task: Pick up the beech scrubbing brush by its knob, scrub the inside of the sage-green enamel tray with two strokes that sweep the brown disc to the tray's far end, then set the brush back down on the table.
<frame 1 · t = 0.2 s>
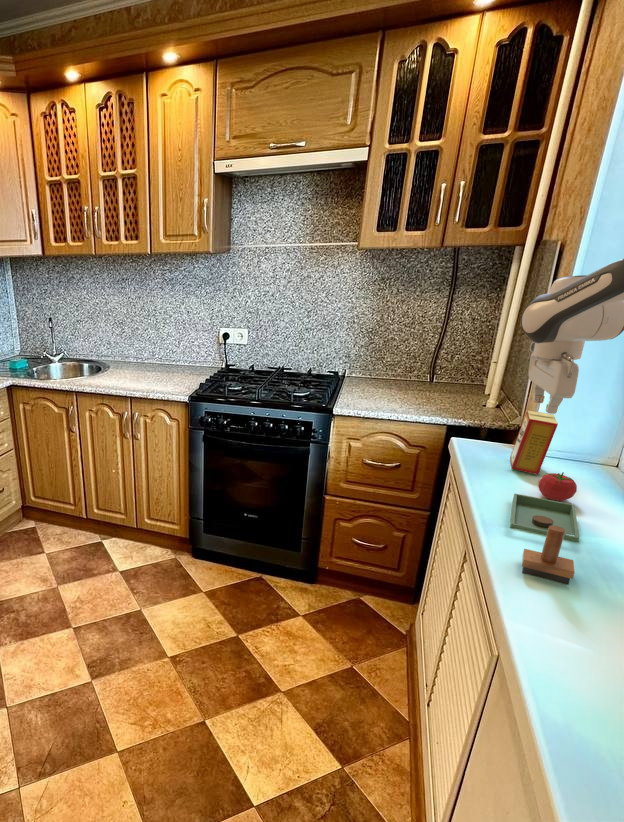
hand: (544, 407, 125), 26 cm above the worktop, tool pointing down, fingers open, 8 cm apart
tray: (541, 524, 124), on the worktop
brush: (544, 575, 105), on the worktop
tomato: (552, 498, 137), on the worktop
brown disc: (541, 523, 123), point 1 cm above the worktop, touching tray
baking soda box: (523, 466, 157), on the worktop
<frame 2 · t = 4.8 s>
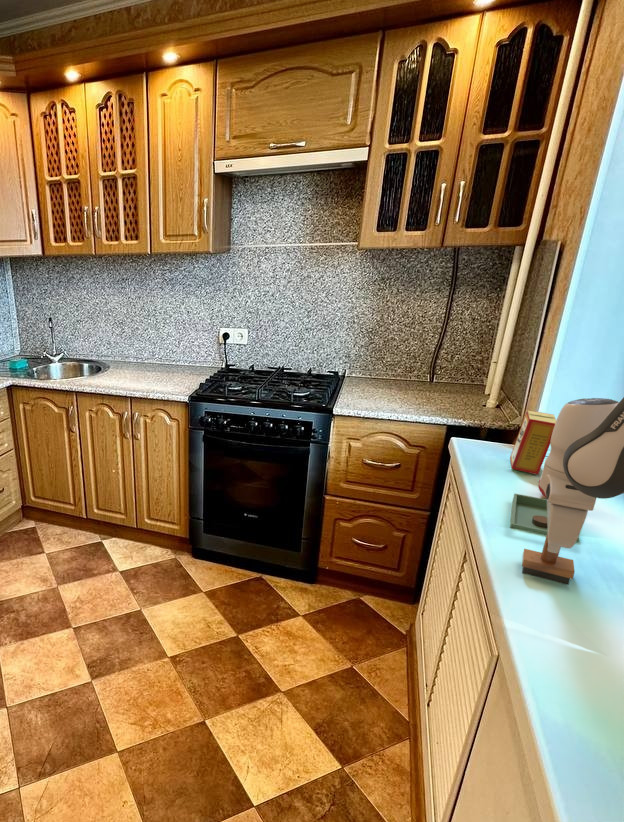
hand: (552, 546, 103), 7 cm above the worktop, tool pointing down, fingers closed on brush, 2 cm apart
brush: (544, 575, 105), on the worktop, touching gripper
everything else where it was.
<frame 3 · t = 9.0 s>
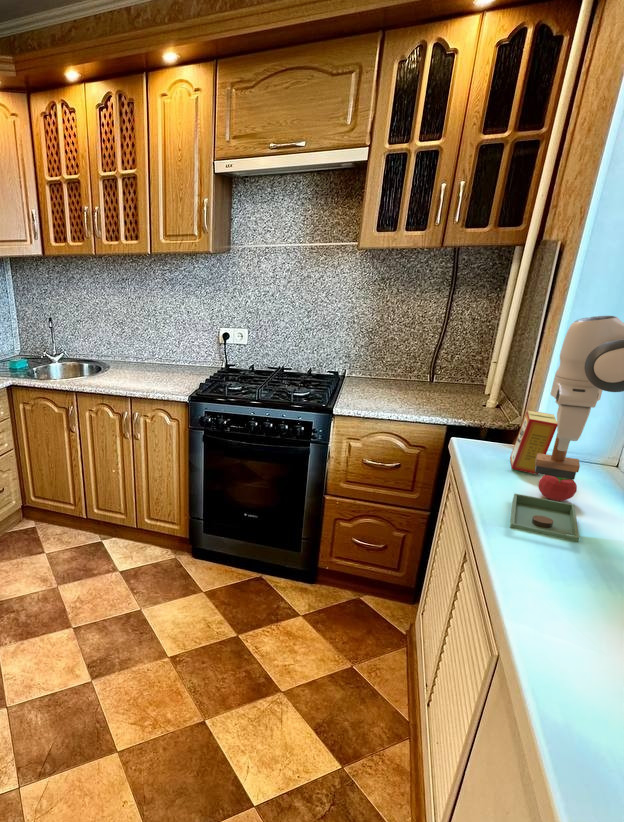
hand: (561, 447, 122), 18 cm above the worktop, tool pointing down, fingers closed on brush, 2 cm apart
brush: (554, 473, 125), point 11 cm above the worktop, touching gripper
everything else where it was.
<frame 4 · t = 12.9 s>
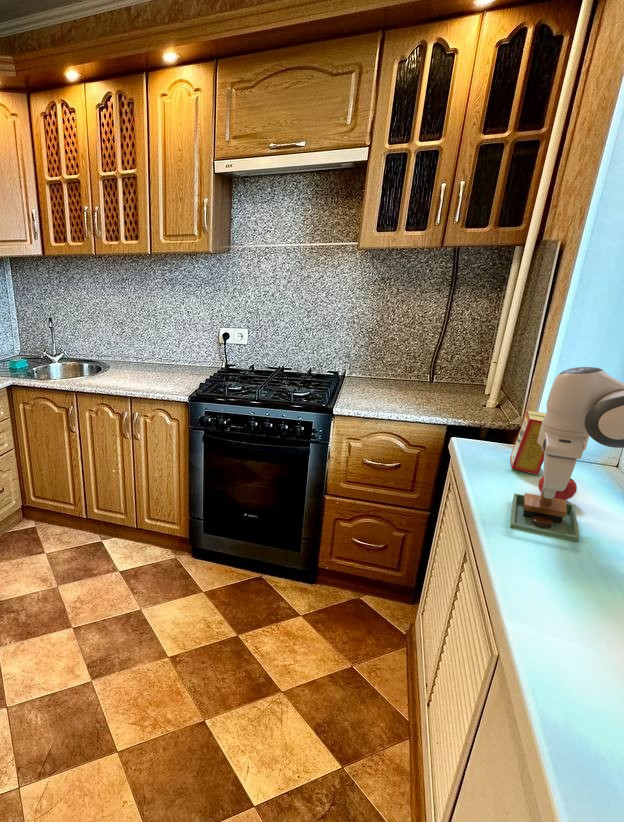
hand: (547, 493, 123), 7 cm above the worktop, tool pointing down, fingers closed on brush, 3 cm apart
brush: (541, 514, 127), point 1 cm above the worktop, tilted 13°, touching gripper, tray
everything else where it was.
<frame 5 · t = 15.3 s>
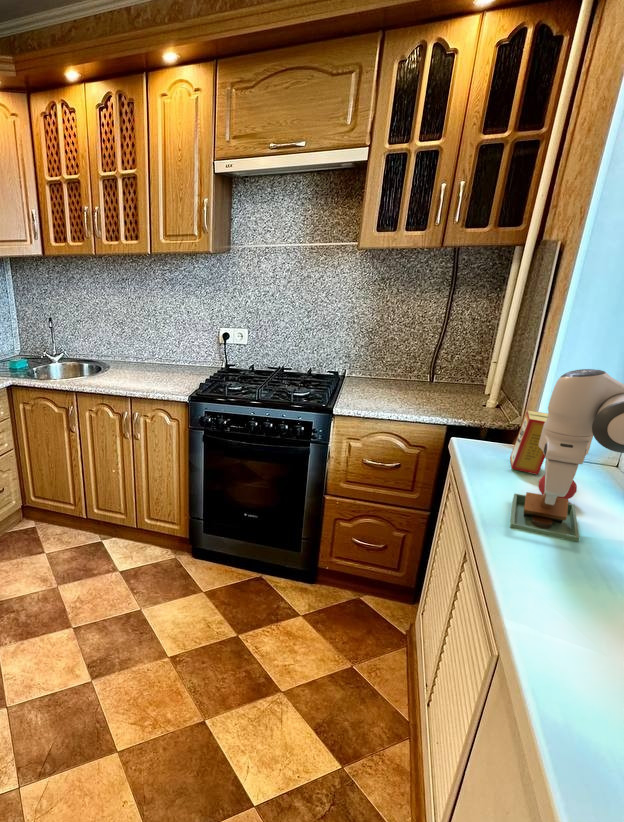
hand: (549, 498, 121), 7 cm above the worktop, tool pointing down, fingers closed on brush, 4 cm apart
brush: (542, 512, 126), point 2 cm above the worktop, tilted 36°, touching brown disc, gripper, tray
brown disc: (541, 524, 123), point 1 cm above the worktop, touching brush, tray
everything else where it was.
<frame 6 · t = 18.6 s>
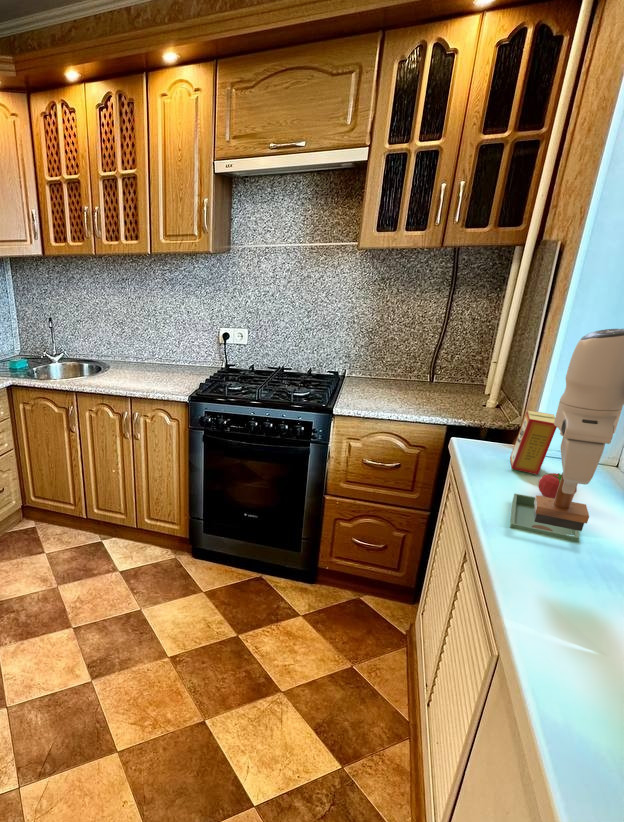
hand: (566, 488, 100), 18 cm above the worktop, tool pointing down, fingers closed on brush, 3 cm apart
brush: (556, 521, 104), point 11 cm above the worktop, touching gripper
brown disc: (541, 533, 119), point 1 cm above the worktop, touching tray
everything else where it was.
when the fingers open (7 cm above the worktop, at t = 21.2 s): brush stays where it is, on the worktop.
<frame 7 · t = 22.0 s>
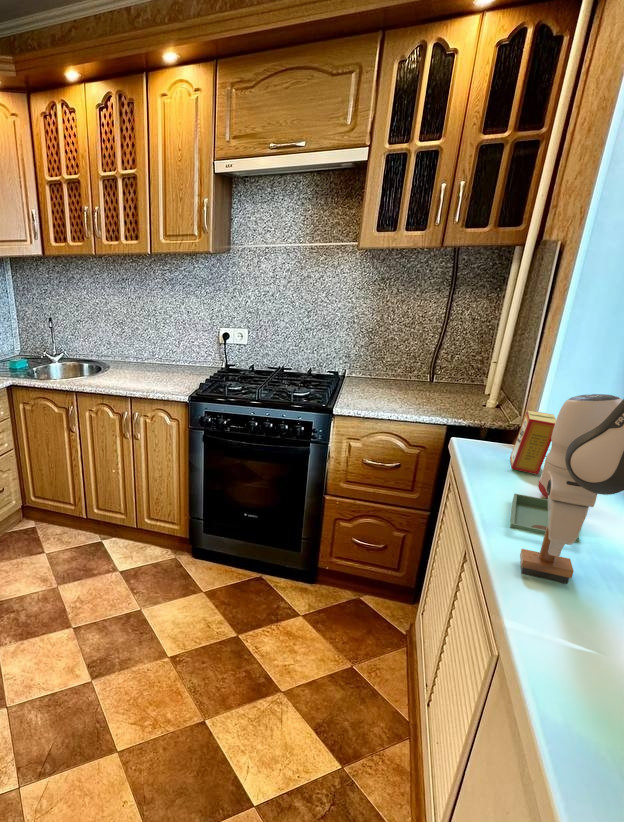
hand: (552, 543, 103), 7 cm above the worktop, tool pointing down, fingers open, 8 cm apart
brush: (542, 574, 105), on the worktop
everything else where it was.
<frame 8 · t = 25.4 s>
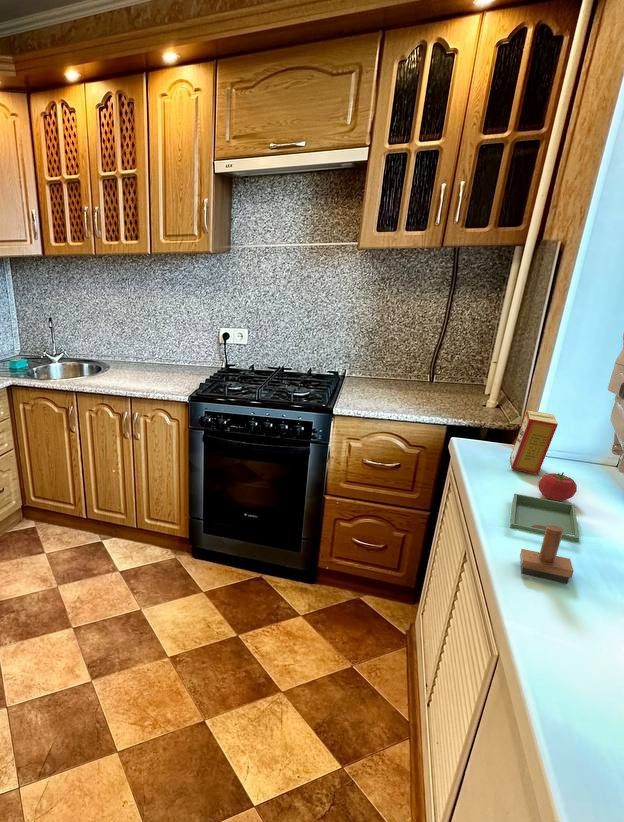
hand: (621, 462, 89), 27 cm above the worktop, tool pointing down, fingers open, 8 cm apart
nothing on the worktop moved.
at the end: brown disc 0.4 cm from the target spot in the tray, point 0.6 cm above the tray's base; brown disc moved 5.6 cm from its start; brush inside the target area (0.3 cm from its centre), on the worktop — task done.
